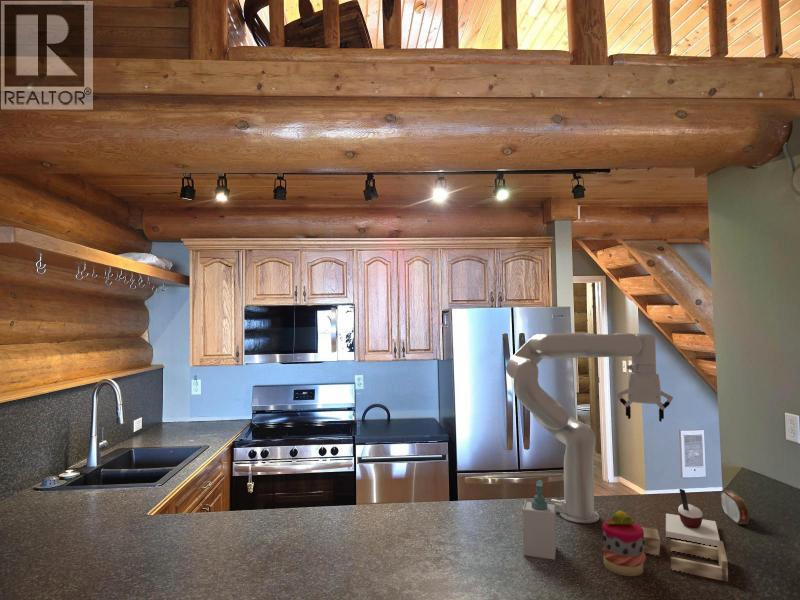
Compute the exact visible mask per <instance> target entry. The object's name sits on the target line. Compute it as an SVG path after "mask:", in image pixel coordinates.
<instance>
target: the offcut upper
mask: <svg viewBox="0 0 800 600" xmlns="http://www.w3.org/2000/svg"><path fill="white" fill-rule="evenodd" d="M641 527H642V526H641ZM642 528H643V530H644V539H643V540H644V544H643V546H649V547H656V548H660V549H661V538H660V536H659V532H658V529H657V528H650V527H645V526H644V527H642ZM659 538H660V539H659Z"/></svg>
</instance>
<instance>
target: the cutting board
mask: <svg viewBox="0 0 800 600" xmlns="http://www.w3.org/2000/svg"><path fill="white" fill-rule="evenodd" d="M666 537H671V538H676V539H681V540H687V541H692V542H697V543H701V544H700V545H703V544H705V545H706V546H709V545H711V547H714V546H717V548H718V541H721V540H720V534H719V531H718V526H717V522H716V521H715V520H709V519H703V518H702V523H701V525H700V526H699V527H698V528H689V527H686V526H685V525H684V524H683V523H682V522H681V519H680V515H678V514H673V513H665V538H666ZM681 540H680V541H681ZM692 542H691V543H692ZM697 543H696V544H697Z"/></svg>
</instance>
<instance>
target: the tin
mask: <svg viewBox="0 0 800 600" xmlns="http://www.w3.org/2000/svg"><path fill="white" fill-rule="evenodd" d="M720 500H721V507H722V510H723V513H724V514H725V515H726V516H727V517H729V519H731V520H732V521H733V522H734V523H735V524H737V525H745V526H747V525H748V524H749V519H750V517H749V516H750V515H749V511H748V506H747V505H746V502H745V500H744V499H743V498H742V497H741V496H740V495H738V494H737V493H735V492H734V491H733V490H732V489H730V490H725V489H724V490H721V492H720Z"/></svg>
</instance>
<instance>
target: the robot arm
mask: <svg viewBox="0 0 800 600" xmlns="http://www.w3.org/2000/svg"><path fill="white" fill-rule="evenodd" d="M656 343H657V342H656V335H654V334H653V333H629V332H615V333H612V334H606V333H605V334H602V333H600V334H599V333H590V332H572V333H569V332H568V333H536V334H534V335H533V336H531V337H530V338H529V339H528V340H526V342H524V344H523V345H522V346H520V348H519V349H518V350H516V352H515V353H514V354H512V356H510V358H509V359H508V361H507V362H506V368H505V369H506V373H507V374H508V376H509V377H510V378H511V379H513V388H514V394H515V397H516V398H517V399H518V401H519V402H520V403H521V404H522V405H523V406H524V407H525V409H527V410H528V411H529V412H530V413H531V414H532V417H533V418H534V420H535V421H536V422H537V423H538V424H539V425H541V427H543V428H544V429H545V430H546V431H548V432H549V433H550V435H551V434H552V436H554V437H555V438H556V439H557V440H558V441H559V442H561V443H563V444H564V445H565V451H564V456H563V495H564V496H563V499H561V500H560V499H556V498H552V499H551V501H550V502H554V503H556V509H557V508H560V509H559V516H560V517H562V518H563V519H564V520H566V521H569V522H572V523H578V524H579V523H580V524H592V523H593V524H594V523H596V522H598V521H599V520H600V515H599V513H598V512H597V511H596V510H595V494H594V493H595V486H594V480H595V479H594V476H595V475H594V457H595V456H594V455H595V450H596V449H595V448H596V442H597V441H596V434H595V433H594V431H593V429H592V428H591V427H590V426H589V425H588V424H586V423H585V422H582V421H581V420H578V419H575V418H574V417H573V416H572V415H570V414H569V412H568V410H567V409H566V408H565V406H564V405H562V404H561V403H560V402H559V401H557V400H556V399H555V398H553V397H552V396H551V395H550V394H549V393H548V392H546V391H545V390H544V389H543V388H542V387H541V386H540V383H539V367H538V364H539V363H540V362H541V361H542V360H543V359H547V360H548V359H549V360H550V359H551V360H553V359H555V360H556V359H582V358H584V359H588V358H591V359H592V358H617V357H618V358H620V357H622V358H623V357H631V364H630V365H627V366H626V368H627V370H630V371H631V372H629V374H628V378H627V379H628V381H627V388H626V389H624V390H621V391H619V392H617V394H616V397H617V398H618V399H619V401H620V403H621V404H622V405H623V406H624V408H625V416H627V420H630V419H631V417H632V416H631V415H632V414H631V411H632V410H631V408H632V407H631V404H632V403H634V404H650V405H656V406H658V407H659V409H658V421H659V422H662V420H664V419H665V416H664V415H665V414H664V413H665V409H667V407H668V406H670V404H671V403H672V400H673V399H674V397H673V396H672V395H670V394H668V393H666V392H664V391H662V390H661V380H660V375H659V373H657V356H656V354H657V353H656V352H657V350H656V349H657V348H656V345H657V344H656ZM626 394H627V400H625V398H624V397H623V396H625V395H626ZM662 397H663V398H665V399H667V400H666V401H665V402H664V403H662V402H661V401H662Z"/></svg>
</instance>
